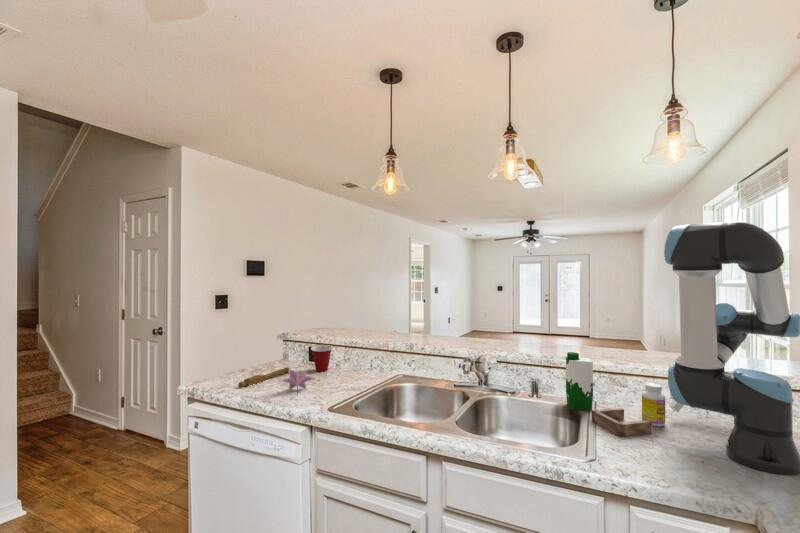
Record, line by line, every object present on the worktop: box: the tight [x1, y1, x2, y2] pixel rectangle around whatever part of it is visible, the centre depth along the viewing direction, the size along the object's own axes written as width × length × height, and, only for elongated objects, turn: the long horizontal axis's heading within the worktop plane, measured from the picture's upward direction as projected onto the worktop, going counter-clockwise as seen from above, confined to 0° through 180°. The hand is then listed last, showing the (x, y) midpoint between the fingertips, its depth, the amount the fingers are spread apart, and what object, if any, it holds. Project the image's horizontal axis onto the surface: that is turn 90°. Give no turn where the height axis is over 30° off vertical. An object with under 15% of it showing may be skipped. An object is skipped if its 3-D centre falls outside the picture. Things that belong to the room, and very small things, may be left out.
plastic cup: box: [310, 344, 333, 373], centre depth 202 cm, size 11×11×12 cm
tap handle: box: [238, 366, 291, 388], centre depth 185 cm, size 3×3×30 cm
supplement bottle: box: [641, 382, 666, 428], centre depth 133 cm, size 7×7×13 cm
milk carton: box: [565, 351, 594, 411], centre depth 148 cm, size 9×9×20 cm
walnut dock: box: [591, 407, 653, 437], centre depth 130 cm, size 12×13×4 cm
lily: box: [282, 369, 316, 395], centre depth 167 cm, size 12×12×10 cm
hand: (673, 409), depth 135 cm, fingers closed
